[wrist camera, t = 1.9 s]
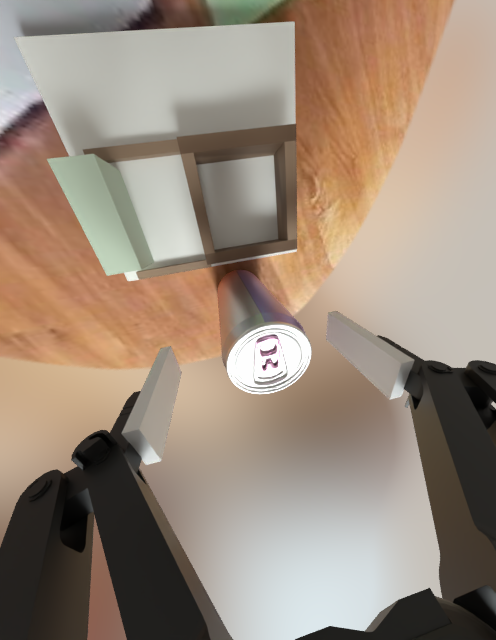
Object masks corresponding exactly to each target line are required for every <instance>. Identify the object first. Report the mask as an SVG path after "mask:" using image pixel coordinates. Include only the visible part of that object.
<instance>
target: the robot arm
mask: <svg viewBox="0 0 496 640" xmlns="http://www.w3.org/2000/svg"><path fill="white" fill-rule="evenodd" d="M326 340H327V341H328V342H329V343H330V344H331V345H332V346H333V347H335V348H336V349H337V350H338V351H339V352H340V353H341V354H342V355H343V356H344V357H345V358H346V359H347V360H348V361H350V363H351V364H352V365H354V366H355V367H356V368H357V369H358V370H359V371H360V372H361V373H362V374H363V375H364V376H365V377H366V378H367V379H368V380H369V381H370V382H372V383H373V384H374V385H375V386H376V387H377V388H378V389H379V390H380V391H381V392H382V393H383V394H384V395H385V396H386V397H387V398H388V399H394V398H397V397H401V396H402V393H403V390H404V389H405V390H406V391H407V392H409V393H410V394H409V396H408V399H407V401H406V404H405V407H408V405H409V404H410V408H411V413H412V418H413V423H414V428H415V433H416V437H417V442H418V447H419V452H420V457H421V462H422V467H423V471H424V476H425V481H426V486H427V491H428V496H429V501H430V505H431V510H432V515H433V520H434V525H435V529H436V534H437V539H438V544H439V550H440V566H439V580H440V587H441V593H442V598H443V599H442V598H439V597H436V596H434V594H433V593H432V591H431V589H430V588H428V589H426V590H423V591H421V592H418V593H415V594H413V595H410V596H407V597H405V598H402V599H400V600H398V601H396V602H395V603H393V604H392V605H390V606H389V607H387V608H386V609H384V610H383V611H381V612H380V613H379V614H378V616H377V617H376V618H375V619H374V620H373V622H372V623H371V624H370V625H369V627H368V628H367V629H366V630H365V631H358V630H351V629H345V628H338V627H332V626H329V627H326V628H324V629H321V630H318V631H316V632H313V633H310V634H308V635H305V636H303V637H300V638H298V639H295V640H496V409H495V408H494V407H493V406H492V405H491V403H492V402H493V401H494V402H495V403H496V365H495V364H493V363H489V362H486V361H478V360H477V361H471V362H469V363H468V365H467V367H466V368H451V367H450V366H448V365H446V364H443V363H441V362H437V361H430V360H429V361H424V360H422V359H421V358H419V357H418V356H416V355H414V354H413V353H411V352H409V351H408V350H406V349H404V348H401V346H399V345H398V344H395V343H394V342H393V341H391V340H389V339H388V338H385V337H382V336H379V335H378V336H375V335H374V334H372V333H371V332H369V331H368V330H366V329H364V328H363V327H361V326H360V325H358V324H357V323H355V322H353V321H352V320H350V319H349V318H347V317H345V316H344V315H342V314H341V313H339V312H338V311H333V312H329V313H328V321H327V335H326ZM181 373H182V372H181V370H180V367H179V365H178V362H177V360H176V358H175V355H174V353H173V350H172V348H171V346H169V347H164V348H161V349H160V351H159V353H158V355H157V357H156V360H155V362H154V364H153V366H152V368H151V371H150V373H149V375H148V377H147V379H146V381H145V384H144V386H143V388H142V390H141V391H139V392H134V393H133V394H132V395H131V396H130V397H129V399H128V400H127V401H126V403H125V405H124V407H123V410H122V411H121V413H120V416H119V417H118V418H117V420H116V423H115V424H114V426H113V428H112V430H111V432H110V433H109V432H108V431H106V430H100V431H97V432H94V433H93V434H91V435H89V436H88V437H87V438H85V439H84V440H83V441H82V442H81V443H80V444H79V445H78V446H77V447H76V449H75V450H74V452H73V454H72V459H71V460H72V461H73V462H74V463H75V464H76V465H77V467H76V468H74V469H72V470H70V471H68V472H66V473H64V474H63V473H62V472H60V471H59V470H52V471H49V472H47V473H45V474H43V475H42V476H41V477H39V478H38V479H36V480H35V481H34V482H33V483H32V484H31V485H30V486H28V487H27V489H26V490H25V491H24V492H23V493H22V495H21V496H20V498H19V500H18V502H17V503H16V506H15V509H14V511H13V514H12V517H11V520H10V522H9V525H8V528H7V531H6V533H5V536H4V539H3V542H2V544H1V547H0V640H87V634H88V616H89V615H88V614H89V598H90V580H91V563H92V545H93V527H94V515H95V518H96V522H97V526H98V530H99V534H100V538H101V541H102V545H103V549H104V553H105V557H106V560H107V565H108V568H109V572H110V576H111V579H112V584H113V588H114V591H115V595H116V599H117V603H118V607H119V610H120V615H121V618H122V622H123V626H124V630H125V634H126V637H127V640H233V639H232V637H231V636H230V635H229V633H228V631H227V629H226V627H225V626H224V624H223V622H222V620H221V618H220V617H219V615H218V613H217V611H216V609H215V607H214V605H213V603H212V602H211V600H210V598H209V596H208V594H207V592H206V590H205V589H204V587H203V585H202V583H201V581H200V579H199V577H198V576H197V574H196V572H195V570H194V568H193V566H192V564H191V563H190V561H189V559H188V557H187V555H186V553H185V552H184V550H183V548H182V546H181V544H180V542H179V540H178V538H177V537H176V535H175V533H174V531H173V529H172V527H171V526H170V524H169V522H168V520H167V518H166V516H165V514H164V513H163V511H162V509H161V507H160V505H159V503H158V502H157V500H156V498H155V496H154V494H153V492H152V490H151V489H150V487H149V485H148V483H147V481H146V479H145V477H144V476H143V474H142V472H141V470H140V469H139V466H140V463H141V460H143V461H144V463H145V464H146V465H148V464H151V463H156V462H159V461H161V460H162V456H163V451H164V447H165V443H166V438H167V434H168V430H169V426H170V421H171V417H172V413H173V408H174V404H175V399H176V395H177V391H178V386H179V382H180V378H181Z"/></svg>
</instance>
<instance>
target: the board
mask: <svg viewBox="0 0 496 640" xmlns="http://www.w3.org/2000/svg"><path fill="white" fill-rule="evenodd" d="M14 39H15V41H16V43H17V45H18V47H19V50H20V52H21V54H22V56H23V58H24V60H25V62H26V65H27V67H28V69H29V71H30V73H31V75H32V77H33V80H34V82H35V84H36V86H37V88H38V90H39V92H40V94H41V97H42V99H43V101H44V103H45V105H46V107H47V109H48V112H49V114H50V116H51V118H52V120H53V122H54V124H55V127H56V129H57V131H58V133H59V135H60V137H61V139H62V141H63V144H64V146H65V148H66V150H67V152H68V154H69V156H78V155H87V154H94V155H96V156H98V157H99V158H101V159H102V160H104V161H106V162H107V163H109V164H110V165H112V166H113V167H115V168H117V169H118V170H120V172H121V175H122V178H123V180H124V183H125V186H126V188H127V191H128V194H129V196H130V199H131V202H132V204H133V207H134V209H135V212H136V215H137V217H138V220H139V223H140V225H141V228H142V231H143V233H144V236H145V239H146V241H147V244H148V247H149V249H150V252H151V255H152V257H153V260H154V263H153V264H151V265H149V266H147V267H146V268H144V269H142V270H137V271H131V272H125V273H124V274H125V276H126V278H127V280H128V281H133V280H140V279H146V278H151V277H157V276H163V275H168V274H174V273H179V272H185V271H191V270H196V269H202V268H208V267H212V266H218V265H223V264H229V263H235V262H240V261H246V260H252V259H257V258H263V257H269V256H274V255H280V254H285V253H291V252H297V249H295V250H289V251H284V252H278V253H272V254H267V255H261V256H255V257H249V258H244V259H238V260H232V261H227V262H221V263H215V264H210V265H207V262H206V257H205V253H204V249H203V245H202V241H201V237H200V233H199V228H198V224H197V220H196V216H195V212H194V208H193V204H192V199H191V195H190V191H189V187H188V183H187V179H186V175H185V170H184V166H183V162H182V158H181V154H180V150H179V146H178V142H177V137H180V136H189V135H198V134H207V133H216V132H225V131H234V130H243V129H252V128H261V127H271V126H280V125H289V124H296V120H295V22H277V23H259V24H241V25H223V26H205V27H187V28H170V29H152V30H134V31H116V32H98V33H80V34H62V35H45V36H27V37H14ZM197 170H198V174H199V179H200V184H201V188H202V193H203V198H204V202H205V207H206V212H207V216H208V221H209V226H210V230H211V235H212V240H213V244H214V249H215V250H216V249H222V248H228V247H234V246H240V245H246V244H252V243H258V242H264V241H269V240H275V239H278V225H277V206H276V188H275V169H274V155H271V156H263V157H255V158H247V159H239V160H231V161H223V162H215V163H207V164H199V165H197Z"/></svg>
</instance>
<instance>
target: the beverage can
mask: <svg viewBox="0 0 496 640" xmlns="http://www.w3.org/2000/svg"><path fill="white" fill-rule="evenodd" d="M217 294H218V308H219V321H220V335H221V349H222V360H223V363H224V366H225V368H226V370H227V374H228V376H229V378H230V380H231V381H232V382H233V384H234V385H236V386H237V387H238V388H240V389H241V390H244V391H246V392H249V393H255V394H266V393H272V392H276V391H279V390H282V389H284V388H286V387H288V386H290V385H291V384H293V383H294V382H295V381H296V380H298V379H299V378H300V377H301V376H302V374H303V373H304V372H305V370H306V369H307V367H308V365H309V363H310V359H311V345H310V341H309V339H308V338H307V336H306V334H305V332H304V329H303V327H302V326H301V325H300V323H299V322H297V320H296V319H295V318H294V317H293V316H292V315H291V314H290V312H289V311H288V310H287V309H286V308H285V307H284V306H283V305H282V304H281V303H280V302H279V301H278V300H277V298H276V297H275V296H274V295H273V294H272V293H271V292H270V291H269V290H268V289H267V288H266V287H265V285H264V284H263V283H262V282H261V281H260V280H259V279H258V278H257V277H256V276H255V275H254V274H253V273H251V272H249V271H246V270H235V271H232V272H230V273H228V274H226V275H225V276H224V277H223V278H222V280H221V281H220V283H219V286H218V291H217Z"/></svg>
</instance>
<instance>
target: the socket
mask: <svg viewBox="0 0 496 640" xmlns="http://www.w3.org/2000/svg"><path fill="white" fill-rule="evenodd" d="M177 142H178V146H179V150H180V154H181V158H182V162H183V166H184V170H185V175H186V179H187V183H188V187H189V191H190V195H191V199H192V204H193V208H194V212H195V216H196V220H197V224H198V228H199V233H200V237H201V241H202V245H203V249H204V253H205V257H206V262H207V265H210V264H215V263H221V262H227V261H232V260H238V259H244V258H249V257H255V256H261V255H267V254H272V253H278V252H284V251H289V250H295V249H297V172H296V124H289V125H280V126H271V127H261V128H252V129H243V130H234V131H225V132H216V133H207V134H198V135H189V136H180V137H177ZM271 155H274V169H275V188H276V206H277V225H278V239H275V240H269V241H264V242H258V243H252V244H246V245H240V246H234V247H228V248H222V249H216V250H215V249H214V244H213V240H212V235H211V230H210V226H209V221H208V216H207V212H206V207H205V202H204V198H203V193H202V188H201V184H200V179H199V174H198V170H197V165H199V164H207V163H215V162H223V161H231V160H239V159H247V158H255V157H263V156H271Z"/></svg>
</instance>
